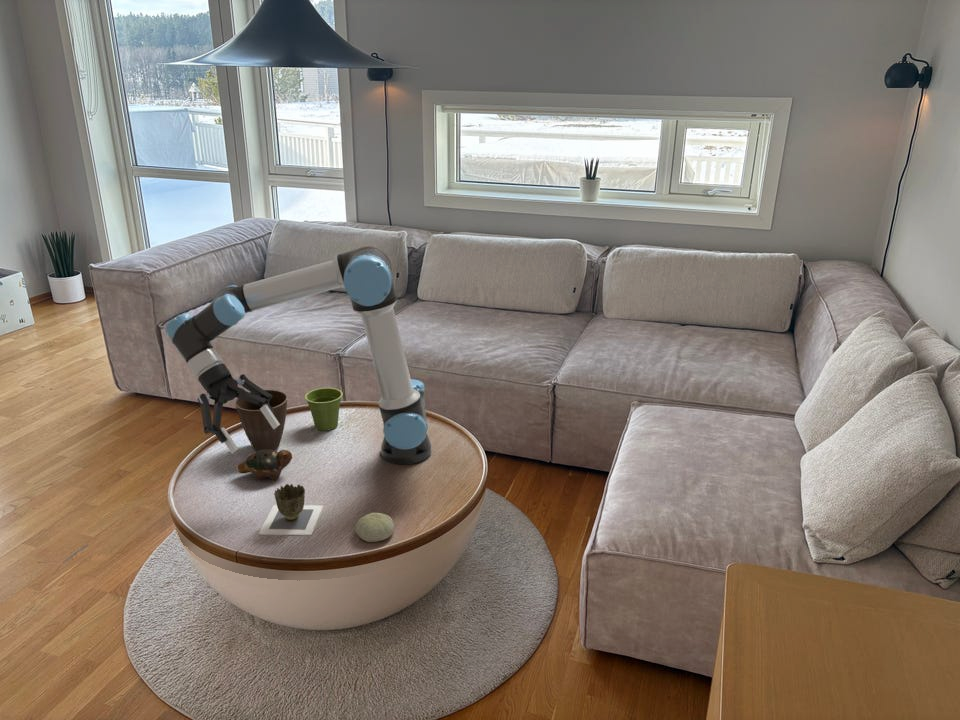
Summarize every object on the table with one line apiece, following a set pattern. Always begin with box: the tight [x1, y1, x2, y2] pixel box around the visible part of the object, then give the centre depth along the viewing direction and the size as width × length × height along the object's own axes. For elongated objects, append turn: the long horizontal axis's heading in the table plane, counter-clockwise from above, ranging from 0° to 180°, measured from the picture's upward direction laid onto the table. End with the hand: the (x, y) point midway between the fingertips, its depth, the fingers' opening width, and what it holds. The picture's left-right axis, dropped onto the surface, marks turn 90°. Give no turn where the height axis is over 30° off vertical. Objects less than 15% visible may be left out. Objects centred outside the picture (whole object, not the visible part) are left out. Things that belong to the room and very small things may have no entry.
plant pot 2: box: [304, 387, 344, 432], centre depth 230 cm, size 12×12×11 cm
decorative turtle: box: [237, 449, 293, 482], centre depth 201 cm, size 10×15×8 cm, turn 103°
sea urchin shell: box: [354, 512, 395, 543], centre depth 175 cm, size 9×8×8 cm
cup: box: [273, 483, 306, 521], centre depth 180 cm, size 8×7×8 cm
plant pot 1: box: [234, 389, 288, 452], centre depth 215 cm, size 15×15×16 cm
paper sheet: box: [258, 504, 324, 536], centre depth 181 cm, size 13×13×1 cm
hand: (256, 438), depth 182 cm, fingers open, 13 cm apart
